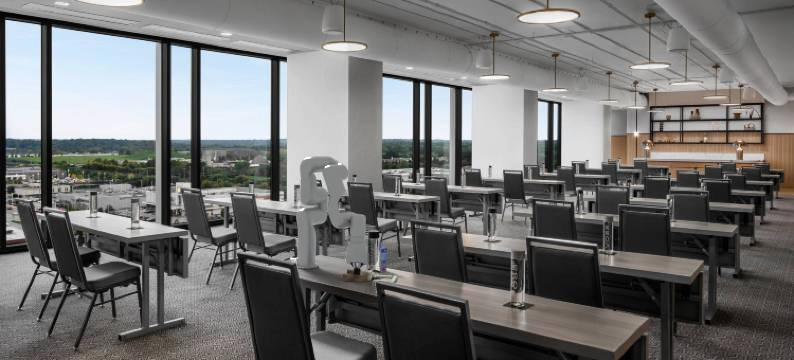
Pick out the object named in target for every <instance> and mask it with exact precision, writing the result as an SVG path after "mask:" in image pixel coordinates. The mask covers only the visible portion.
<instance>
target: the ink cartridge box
mask: <svg viewBox="0 0 794 360" xmlns="http://www.w3.org/2000/svg"><path fill="white" fill-rule="evenodd" d="M379 243H380V244H379V246H380V271H382V272H386V271H387V264H388V262H387V259H388V258H387V257H388V248H387V247H382V244H383V243H381V242H379ZM368 247H369V246H367V249H368ZM365 270H368V264H367V265H366V269H365Z"/></svg>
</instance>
